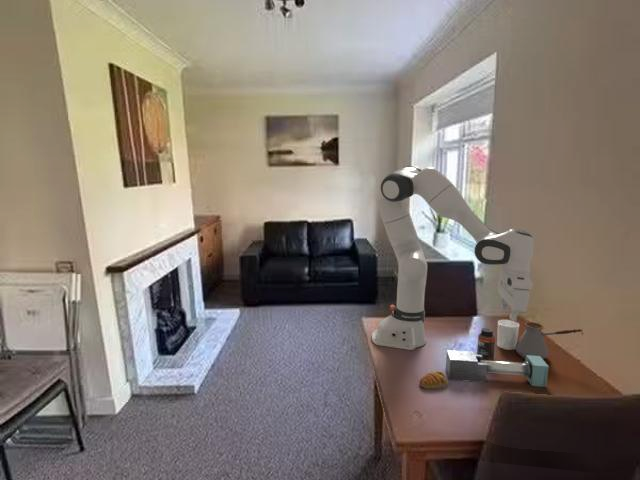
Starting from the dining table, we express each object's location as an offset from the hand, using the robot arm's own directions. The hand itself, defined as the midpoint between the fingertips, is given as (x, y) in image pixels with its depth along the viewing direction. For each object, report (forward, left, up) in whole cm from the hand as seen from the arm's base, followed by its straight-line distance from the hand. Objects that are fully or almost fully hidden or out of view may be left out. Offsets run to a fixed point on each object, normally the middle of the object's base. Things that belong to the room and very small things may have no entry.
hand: (508, 314), depth 139 cm
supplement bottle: (-4, +9, -21) cm, 23 cm away
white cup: (+7, +20, -21) cm, 30 cm away
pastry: (-26, -14, -22) cm, 36 cm away
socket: (+9, -6, -21) cm, 24 cm away
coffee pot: (+18, +10, -21) cm, 29 cm away
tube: (0, -6, -20) cm, 21 cm away
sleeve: (-14, -6, -21) cm, 26 cm away
